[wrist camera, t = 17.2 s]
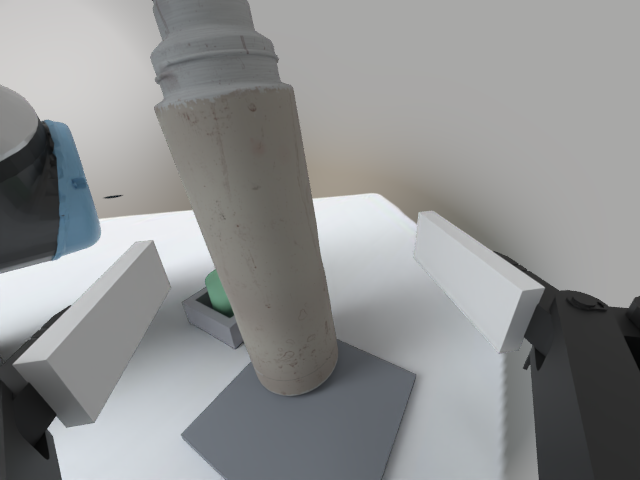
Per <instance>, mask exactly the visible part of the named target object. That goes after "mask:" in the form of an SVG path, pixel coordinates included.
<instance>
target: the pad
mask: <svg viewBox="0 0 640 480" xmlns="http://www.w3.org/2000/svg"><path fill="white" fill-rule="evenodd" d="M336 340H337V346H338V360H337V363H336V366H335V368H334V370H333V372H332V373H331V375H330V376H329V377H328V378H327V380H326V381H325V382H324V383H322V384H321V385H320V386H318V387H317V388H315V389H313V390H312V391H310V392H307V393H304V394H301V395H294V396H283V395H279V394H275V393H273V392H271V391H269V390H268V389H266V388H265V387H264V386H263V385H262V384H261V382H260V381H259V379H258V377H257V374H256V372H255V369H254V367H253V364H252V361H251V362H250V363H249V364H248V365H247V366H246V367H245V368H244V369H243V370H242V371H241V373H240V374H239V375H238V376H237V377H236V378H235V379H234V380H233V381H232V382H231V383H230V384H229V385H228V386H227V387H226V388H225V389H224V390H223V391H222V392H221V393H220V394H219V395H218V396H217V398H216V399H215V400H214V401H213V402H212V403H211V404H210V405H209V406H208V407H207V408H206V409H205V410H204V411H203V412H202V413H201V414H200V415H199V416H198V417H197V418H196V419H195V420H194V421H193V423H192V424H191V425H190V426H189V427H188V428H187V429H186V430H185V431H184V432H183V433H182V434H181V436H182V438H183V439H184V440H185V441H186V442H187V443H188V444H189V445H190V446H191V447H192V448H193V449H194V450H195V451H196V452H197V453H198V454H199V455H200V456H201V457H202V458H203V459H204V460H205V461H206V462H208V463H209V464H210V465H211V466H212V467H213V468H214V469H215V470H216V471H217V472H218V473H219V474H220V475H221V476H222V477H223V478H224V479H225V480H381V479H382V476H383V473H384V470H385V467H386V465H387V462H388V459H389V456H390V453H391V450H392V447H393V444H394V441H395V438H396V435H397V432H398V429H399V426H400V423H401V420H402V417H403V414H404V411H405V408H406V405H407V402H408V399H409V396H410V393H411V390H412V387H413V384H414V381H415V378H416V374H414V373H412V372H410V371H407V370H405V369H403V368H401V367H398V366H396V365H394V364H392V363H389V362H387V361H385V360H383V359H380V358H378V357H376V356H374V355H371V354H369V353H367V352H365V351H363V350H360V349H358V348H356V347H354V346H351V345H349V344H347V343H345V342H342V341H340V340H338V339H336Z"/></svg>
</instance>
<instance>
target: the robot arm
mask: <svg viewBox="0 0 640 480" xmlns="http://www.w3.org/2000/svg"><path fill="white" fill-rule="evenodd" d="M86 181H87V180H86V177H85V174H84V171H83V167H82V164H81V160H80V157H79V154H78V152H77V148H76V145H75V142H74V140H73V137H72V134H71V131H70V129H69V128H68V126H67V125H66V124H64V123H60V122H53V121H50V120H44V121H40V119H39V118H38V116H37V114H36V112H35V110H34V109H33V108H32V106H31V105H30V104H29V103H28V101H27V100H26V99H25V98H24V97H22V96H21V95H19V94H18V93H16V92H15V91H13V90H11V89H9V88H7V87H4V86H2V85H0V274H1V273H5V272H8V271H12V270H16V269H20V268H24V267H28V266H31V265H35V264H39V263H43V262H47V261H54V260H57V259H59V258H60V257H61V256H64V255H67V254H70V253H73V252H76V251H79V250H82V249H85V248H88V247H90V246H92V245H94V244H95V243H96V242H97V241H98V240H99V238H100V235H101V228H100V223H99V219H98V216H97V212H96V209H95V206H94V202H93V199H92V196H91V193H90V190H89V187H88V185H87V182H86ZM413 258H414V259H415V260H416V261H417V262H418V263H419V265H420V266H421V267H422V268H423V269H424V270H425V271H426V272H427V274H428V275H429V276H430V277H431V278H432V279H433V280H434V281H435V283H436V284H437V285H438V286H439V287H440V288H441V289H442V290H443V291H444V293H445V294H446V295H447V296H448V297H449V298H450V299H451V300H452V302H453V303H454V304H455V305H456V306H457V307H458V308H459V309H460V311H461V312H462V313H463V314H464V315H465V316H466V317H467V318H468V320H469V321H470V322H471V323H472V324H473V325H474V326H475V327H476V329H477V330H478V331H479V332H480V333H481V334H482V335H483V336H484V338H485V339H486V340H487V341H488V342H489V343H490V344H491V345H492V347H493V348H494V349H495V350H496V351H497V352H498V353H499V354H500V353H506V352H512V351H518V350H519V349H520V346H521V344H522V342H523V339H524V337H525V338H526V339H527V340H528V341H529V342H530V343H531V344H532V345H533V346H532V349H531V351H530V353H529V355H528V357H527V360H526V362H525V364H524V367H523V369H526V370H527V368H528V366H529V365H531V378H532V392H533V405H534V418H535V433H536V447H537V459H538V474H539V480H640V296H639V297H635V299H634V300H633V302H632V304H631V305H630V307H629V308H619V307H608V305H606V304H605V303H603V302H602V301H601V300H599V299H597V298H595V297H592V296H590V295H587V294H584V293H581V292H577V291H570V290H566V291H559V290H557V289H556V288H554V287H553V286H551V285H550V284H548V283H547V282H545V281H544V280H542V279H541V278H539V277H538V276H536V275H535V274H533V273H532V272H530V271H527V269H526V268H524V267H523V266H521V265H518V263H517V262H515V261H513V260H512V259H511V258H509V257H507V256H505V255H502V254H500V253H498V252H495V251H491V250H490V249H488V248H487V247H485V246H484V245H482V244H481V243H479V242H478V241H477V240H475V239H474V238H472V237H471V236H469V235H468V234H466V233H465V232H463V231H462V230H460V229H459V228H458V227H456V226H455V225H453V224H452V223H450V222H449V221H447V220H446V219H444V218H443V217H441V216H440V215H438V214H437V213H436V212H434V211H425V212H419V216H418V224H417V232H416V239H415V247H414V255H413ZM170 288H171V286H170V283H169V281H168V278H167V275H166V273H165V270H164V267H163V265H162V262H161V260H160V257H159V254H158V252H157V249H156V246H155V244H154V241H153V240H149V241H139V242H135V243H134V244H133V245H132V246H131V247H130V248H129V249H128V250H127V251H126V252H125V253H124V254H123V255H122V256H121V257H120V258H119V259H118V260H117V261H116V262H115V263H114V264H113V265H112V266H111V267H110V268H109V269H108V270H107V271H106V272H105V273H104V274H103V275H102V276H101V277H100V278H99V279H98V280H97V281H96V282H95V283H94V284H93V285H92V286H91V287H90V288H89V289H88V290H87V291H86V292H85V293H84V294H83V295H82V296H81V297H80V298H79V299H78V300H77V301H76V302H75V303H74V304H73V305H70V306H68V307H67V308H65V309H64V310H62V311H60V312H59V313H57V314H56V315H54V316H53V317H52V318H51V319H50V320H49V321H48V322H47V323H46V324H45V325H44V326H42V327H41V330H38V331H37V332H36V333H35V334H34V335H33V336H32V337H31V340H28V341H27V342H26V343H25V344H24V345H23V346H22V347H21V348H20V349H19V350H17V351H16V352H15V353H14V354H13V355H12V356H11V357H10V358H9V359H8V360H7V361H6V362H5V363H4V364H3V362H2V359H1V357H0V480H62V478H61V473H60V468H59V464H58V459H57V454H56V449H55V444H54V440H53V436H52V435H51V433H50V432H49V431H48V430H47V428H48V427H49V425H50V424H51V422H52V421H53V420H54V418H55V417H56V416H57V417H58V418H59V420H60V421H61V422H62V423H63V424H64V425H65V426H66V428H67V427H72V426H78V425H84V424H90V423H95V421H96V419H97V417H98V416H99V414H100V412H101V410H102V409H103V407H104V405H105V403H106V401H107V400H108V398H109V396H110V394H111V393H112V391H113V389H114V387H115V386H116V384H117V382H118V380H119V379H120V377H121V375H122V373H123V371H124V370H125V368H126V366H127V364H128V363H129V361H130V359H131V357H132V356H133V354H134V352H135V350H136V348H137V347H138V345H139V343H140V341H141V340H142V338H143V336H144V334H145V333H146V331H147V329H148V327H149V326H150V324H151V322H152V320H153V318H154V317H155V315H156V313H157V311H158V310H159V308H160V306H161V304H162V303H163V301H164V299H165V297H166V296H167V294H168V292H169V290H170Z"/></svg>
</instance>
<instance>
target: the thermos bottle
mask: <svg viewBox="0 0 640 480" xmlns="http://www.w3.org/2000/svg"><path fill="white" fill-rule="evenodd" d="M152 1H153V3H154V6H153V13H154V16H155V19H156V22H157V25H158V27H159V31H160V34H161V37H162V42H161V43H160V44H159V45H158V46H157V47H156V48H155V49H154V51H153V52H152V54H151V57H150V58H151V62H152V64H153V67H154V70H155V73H156V75H157V77H156V78H155V82H156V83H157V84H160V86H161V89H162V92H163V96H164V99H163V101H162V102H160V103H158V104H157V105H156V106H155V107H154V110H155V113H156V116H157V118H158V121H159V123H160V126H161V128H162V131H163V134H164V136H165V139H166V141H167V144H168V147H169V149H170V152H171V154H172V157H173V160H174V162H175V165H176V167H177V170H178V173H179V175H180V178H181V180H182V183H183V185H184V188H185V190H186V193H187V196H188V198H189V201H190V203H191V206H192V209H193V211H194V214H195V217H196V219H197V222H198V224H199V227H200V229H201V232H202V235H203V237H204V240H205V242H206V245H207V248H208V250H209V253H210V255H211V258H212V260H213V263H214V266H215V268H216V271H217V273H218V276H219V279H220V281H221V284H222V286H223V288H224V291H225V293H226V295H227V297H228V300H229V302H230V304H231V307H232V310H233V312H234V315H235V318H236V321H237V324H238V327H239V330H240V333H241V335H242V338H243V341H244V343H245V346H246V348H247V351H248V354H249V356H250V359H251V361H252V364H253V367H254V369H255V372H256V374H257V377H258V379H259V381H260V382H261V384H262V385H263V386H264V387H265V388H266V389H268V390H269V391H271V392H273V393H275V394H279V395H283V396H294V395H301V394H304V393H307V392H310V391H312V390H313V389H315V388H317V387H318V386H320V385H321V384H322V383H324V382H325V381H326V380H327V378H328V377H329V376H330V375H331V373H332V372H333V370H334V368H335V366H336V363H337V360H338V346H337V340H336V334H335V328H334V323H333V318H332V312H331V305H330V299H329V294H328V288H327V282H326V276H325V271H324V267H323V263H322V259H321V254H320V247H319V240H318V232H317V224H316V218H315V212H314V206H313V200H312V195H311V189H310V183H309V177H308V171H307V165H306V160H305V154H304V148H303V142H302V136H301V130H300V125H299V119H298V113H297V107H296V101H295V95H294V90H293V87H292V86H291V85H289V84H285V83H282V82H281V81H280V77H279V73H278V67H277V63H278V60H279V59H278V57H277V55H276V54H275V52H274V46H273V44H272V42H271V40H269V39H268V38H266V37H264V36H263V35H261V34H259V33H258V32H256V31H255V29H254V25H253V21H252V16H251V11H250V7H249V3H248V1H247V0H152Z"/></svg>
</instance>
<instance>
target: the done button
mask: <svg viewBox="0 0 640 480" xmlns="http://www.w3.org/2000/svg"><path fill="white" fill-rule="evenodd" d="M205 284H206V287H207V291H208V294H209V297H210V300H211V304H212V307H213V310H215V311H217V312H219V313H221V314H223V315H224V316H226V317H228V318H231V317H233V316H234V312H233V310H232V307H231V304H230V302H229V300H228V297H227V295H226V293H225V291H224V288H223V286H222V284H221V281H220V279H219V276H218V273H217V271H216V269H215V270H214V271H212V272H211V273H210V274H209V275H208V276H207V277H206V279H205Z"/></svg>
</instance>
